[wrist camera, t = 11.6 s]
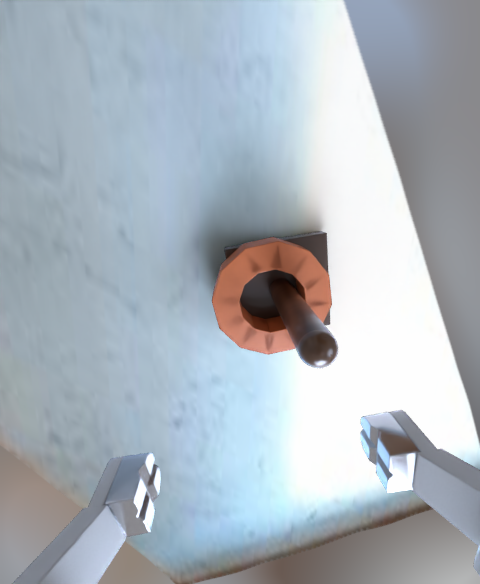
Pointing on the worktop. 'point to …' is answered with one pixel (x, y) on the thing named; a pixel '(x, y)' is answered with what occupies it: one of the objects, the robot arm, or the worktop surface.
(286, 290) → the peg stand
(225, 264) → the ring
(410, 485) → the robot arm
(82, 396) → the worktop surface
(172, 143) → the worktop surface
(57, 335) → the worktop surface
